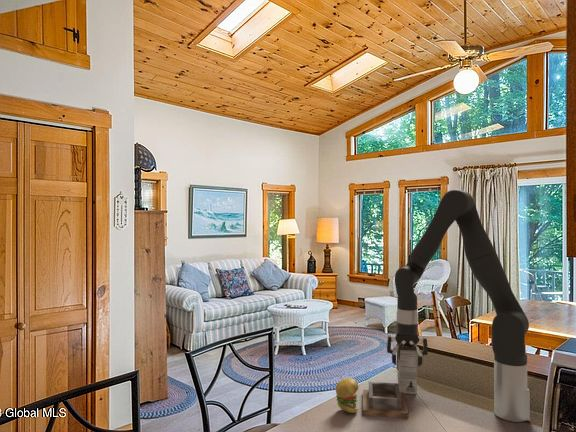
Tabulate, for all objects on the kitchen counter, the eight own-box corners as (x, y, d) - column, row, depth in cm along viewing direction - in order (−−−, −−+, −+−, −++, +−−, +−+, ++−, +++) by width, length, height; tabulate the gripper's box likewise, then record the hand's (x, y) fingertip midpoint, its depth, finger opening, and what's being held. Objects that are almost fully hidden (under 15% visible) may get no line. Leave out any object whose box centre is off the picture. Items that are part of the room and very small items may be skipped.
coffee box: (397, 383, 161) (397, 340, 161) (415, 384, 160) (415, 341, 160) (399, 393, 152) (398, 348, 152) (417, 394, 151) (417, 349, 151)
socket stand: (403, 396, 150) (403, 382, 150) (408, 418, 134) (408, 402, 134) (362, 393, 152) (362, 379, 152) (362, 414, 136) (362, 399, 136)
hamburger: (363, 415, 136) (363, 377, 136) (343, 419, 133) (343, 381, 133) (350, 405, 143) (350, 369, 143) (331, 409, 140) (331, 372, 140)
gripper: (426, 319, 158) (425, 362, 159) (386, 317, 161) (386, 360, 161) (429, 324, 151) (428, 370, 151) (387, 322, 154) (387, 367, 154)
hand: (406, 365), depth 156 cm, fingers open, 8 cm apart
